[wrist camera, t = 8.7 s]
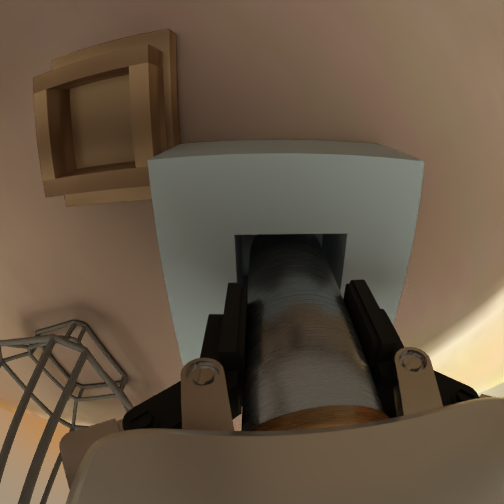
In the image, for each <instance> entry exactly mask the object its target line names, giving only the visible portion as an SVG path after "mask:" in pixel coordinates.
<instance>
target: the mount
mask: <svg viewBox="0 0 504 504" xmlns="http://www.w3.org/2000/svg"><path fill="white" fill-rule="evenodd" d="M33 92H34V112H35V125H36V136H37V145H38V153H39V160H40V167H41V174H42V180H43V185H44V191H45V196H46V197H53V196H60V195H64V197H65V202H66V207H69V206H79V205H89V204H100V203H111V202H123V201H137V200H151V199H152V196H151V188H150V180H149V170H148V161H147V160H149V159H151V158H152V157H154V156H156V155H158V154H160V153H162V152H164V151H166V150H168V149H170V148H172V147H174V146H177V145H179V144H180V131H179V113H178V92H177V60H176V34H175V33H174V32H173V31H172V30H170V29H165V30H160V31H154V32H149V33H144V34H139V35H134V36H130V37H126V38H121V39H117V40H114V41H110V42H106V43H102V44H99V45H95V46H92V47H89V48H86V49H82V50H79V51H76V52H73V53H70V54H68V55H65V56H62V57H59V58H57V59H54V60H52V71H49V72H46V73H44V74H41V75H39V76H36V77H34V78H33Z"/></svg>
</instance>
